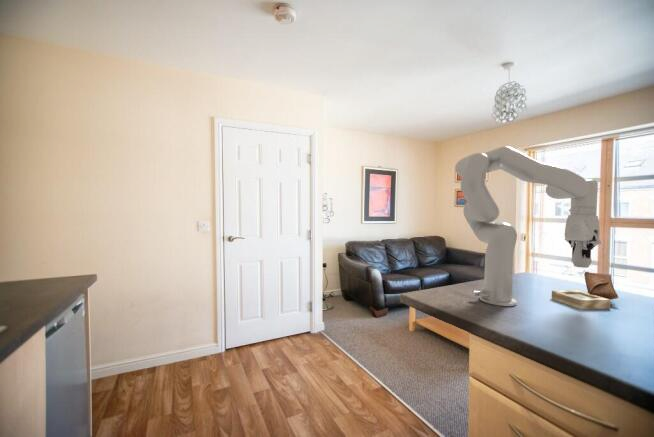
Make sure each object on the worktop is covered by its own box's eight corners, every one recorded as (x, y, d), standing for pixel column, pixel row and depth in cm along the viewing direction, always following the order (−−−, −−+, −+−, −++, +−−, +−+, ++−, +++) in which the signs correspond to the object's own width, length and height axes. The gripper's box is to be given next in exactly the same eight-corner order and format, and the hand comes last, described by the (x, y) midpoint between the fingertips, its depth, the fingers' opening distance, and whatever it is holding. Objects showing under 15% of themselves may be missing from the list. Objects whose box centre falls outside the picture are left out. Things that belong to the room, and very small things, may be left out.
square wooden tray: (580, 309, 103) (580, 300, 103) (551, 298, 115) (551, 290, 115) (609, 308, 104) (610, 299, 104) (578, 298, 116) (578, 290, 116)
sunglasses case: (620, 297, 105) (601, 285, 107) (603, 307, 109) (585, 296, 111) (610, 273, 118) (594, 263, 120) (595, 283, 123) (580, 273, 125)
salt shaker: (593, 268, 105) (594, 234, 104) (572, 267, 108) (574, 233, 107) (588, 266, 110) (590, 233, 109) (569, 264, 113) (571, 232, 112)
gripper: (555, 211, 116) (553, 255, 117) (596, 212, 100) (593, 263, 100) (571, 211, 116) (570, 255, 117) (615, 212, 100) (612, 263, 101)
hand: (581, 258), depth 109 cm, fingers closed on salt shaker, 3 cm apart
